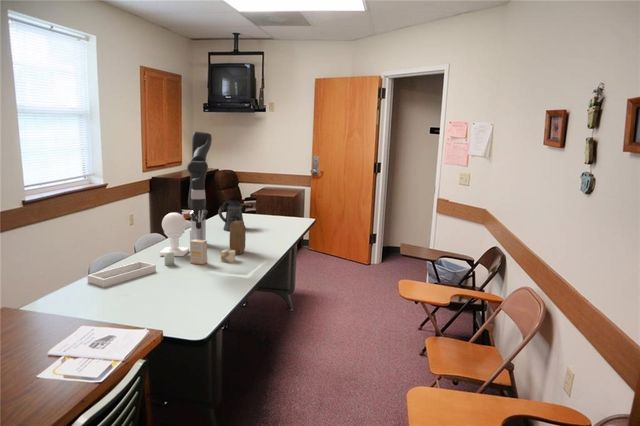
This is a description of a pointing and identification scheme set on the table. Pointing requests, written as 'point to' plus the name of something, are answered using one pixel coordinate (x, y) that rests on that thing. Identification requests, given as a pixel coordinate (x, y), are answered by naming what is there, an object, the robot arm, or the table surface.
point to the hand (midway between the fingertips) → (198, 228)
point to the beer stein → (231, 213)
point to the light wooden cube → (227, 255)
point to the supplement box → (198, 251)
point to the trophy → (174, 233)
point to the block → (237, 237)
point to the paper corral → (99, 276)
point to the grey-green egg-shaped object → (169, 258)
